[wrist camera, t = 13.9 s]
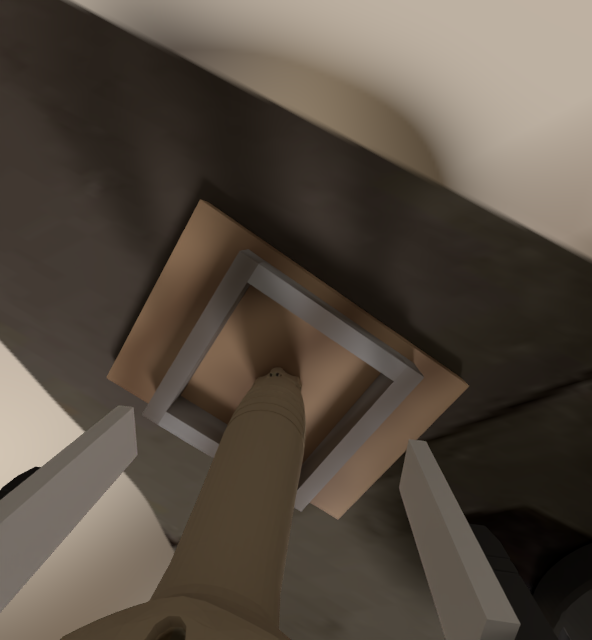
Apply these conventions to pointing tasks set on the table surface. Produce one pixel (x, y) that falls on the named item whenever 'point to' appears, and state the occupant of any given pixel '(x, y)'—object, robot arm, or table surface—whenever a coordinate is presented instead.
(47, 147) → the table surface
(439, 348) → the table surface
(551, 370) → the table surface
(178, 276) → the collar board
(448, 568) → the robot arm
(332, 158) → the table surface
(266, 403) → the handle
